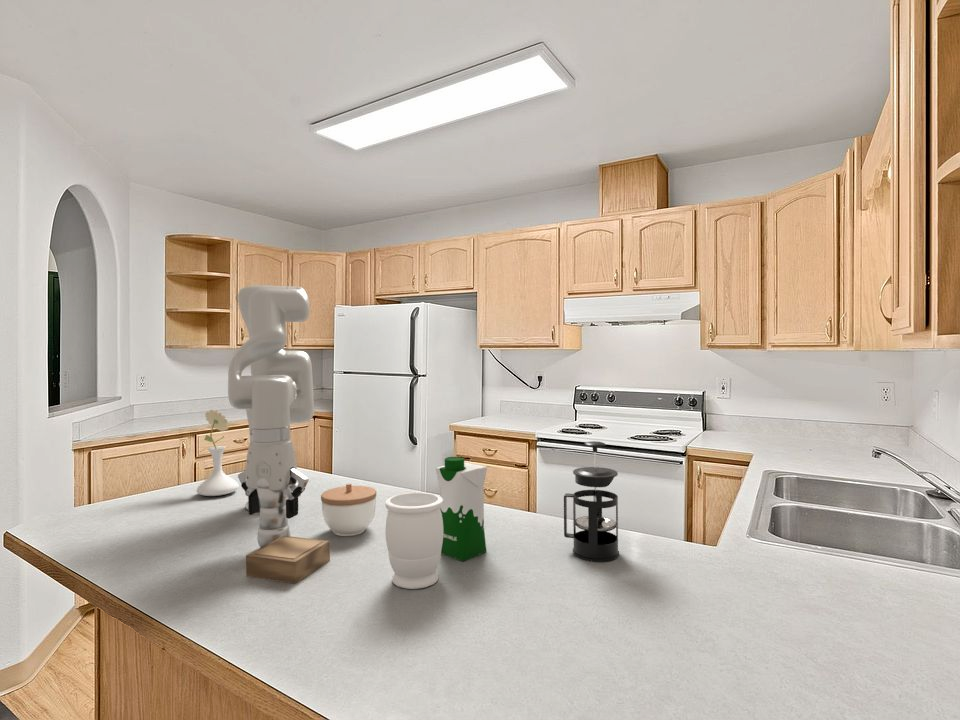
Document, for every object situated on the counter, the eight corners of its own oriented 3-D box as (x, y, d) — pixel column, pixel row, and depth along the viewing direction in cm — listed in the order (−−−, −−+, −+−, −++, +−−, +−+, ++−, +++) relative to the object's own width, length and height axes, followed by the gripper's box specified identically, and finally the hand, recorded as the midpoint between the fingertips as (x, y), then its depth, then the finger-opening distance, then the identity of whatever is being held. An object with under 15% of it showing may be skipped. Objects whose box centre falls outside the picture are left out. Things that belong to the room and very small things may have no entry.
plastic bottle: (284, 553, 113) (281, 458, 112) (251, 554, 113) (249, 459, 112) (295, 542, 119) (293, 452, 118) (264, 542, 119) (262, 452, 119)
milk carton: (432, 553, 112) (431, 457, 111) (463, 541, 119) (462, 451, 118) (462, 564, 106) (461, 463, 105) (493, 551, 113) (492, 456, 112)
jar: (452, 572, 102) (451, 494, 102) (430, 596, 93) (428, 510, 92) (402, 565, 106) (401, 489, 105) (375, 588, 96) (374, 504, 96)
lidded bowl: (310, 536, 123) (309, 488, 122) (343, 519, 134) (342, 475, 134) (356, 543, 118) (355, 493, 118) (387, 525, 130) (386, 480, 129)
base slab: (284, 554, 112) (283, 534, 112) (329, 560, 109) (329, 540, 109) (246, 576, 102) (245, 554, 101) (295, 583, 98) (295, 561, 98)
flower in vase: (245, 493, 160) (243, 409, 159) (205, 501, 152) (202, 413, 151) (228, 485, 169) (226, 406, 168) (188, 493, 161) (186, 410, 160)
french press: (624, 547, 114) (623, 439, 113) (620, 565, 105) (620, 447, 104) (568, 541, 117) (567, 436, 117) (560, 558, 108) (559, 444, 108)
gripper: (225, 436, 114) (227, 516, 115) (294, 439, 109) (296, 523, 109) (250, 431, 121) (252, 506, 122) (316, 434, 116) (318, 512, 117)
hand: (273, 514), depth 116 cm, fingers open, 9 cm apart
